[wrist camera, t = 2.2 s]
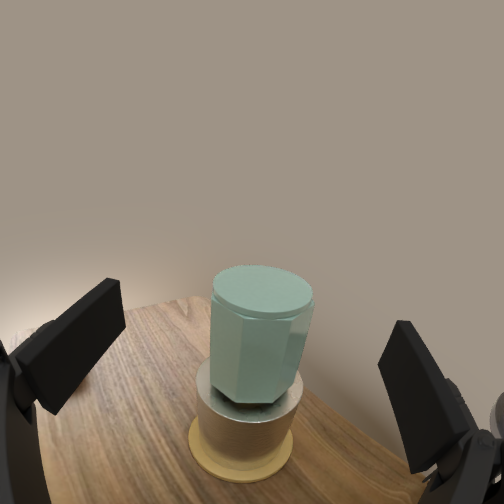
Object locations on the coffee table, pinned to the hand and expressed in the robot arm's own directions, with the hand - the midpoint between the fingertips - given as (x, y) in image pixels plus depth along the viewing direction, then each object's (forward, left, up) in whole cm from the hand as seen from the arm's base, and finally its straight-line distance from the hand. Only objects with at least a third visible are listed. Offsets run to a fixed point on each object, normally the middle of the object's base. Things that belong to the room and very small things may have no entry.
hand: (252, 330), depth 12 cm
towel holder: (+10, -2, -27) cm, 29 cm away
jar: (+10, -2, -12) cm, 16 cm away
